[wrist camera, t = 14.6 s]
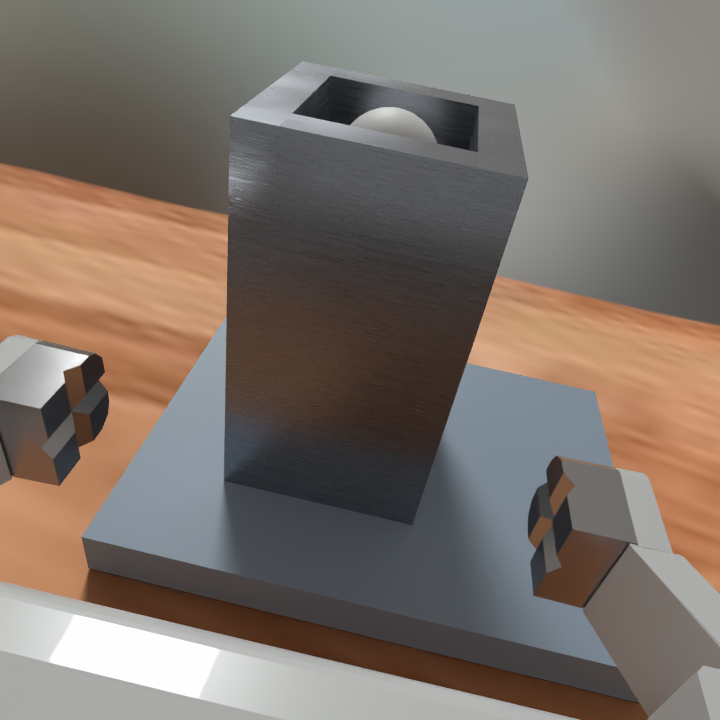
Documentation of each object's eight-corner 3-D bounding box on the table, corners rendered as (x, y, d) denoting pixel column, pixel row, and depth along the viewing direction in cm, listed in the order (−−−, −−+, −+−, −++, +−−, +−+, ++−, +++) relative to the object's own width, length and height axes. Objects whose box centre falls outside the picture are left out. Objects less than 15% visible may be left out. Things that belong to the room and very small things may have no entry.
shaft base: (88, 568, 17) (-11, 125, 9) (230, 338, 27) (236, 26, 19) (639, 703, 16) (1005, 343, 9) (581, 417, 26) (733, 127, 18)
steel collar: (223, 480, 18) (229, 115, 12) (276, 366, 23) (303, 61, 16) (412, 525, 18) (528, 178, 11) (426, 400, 23) (514, 104, 16)
